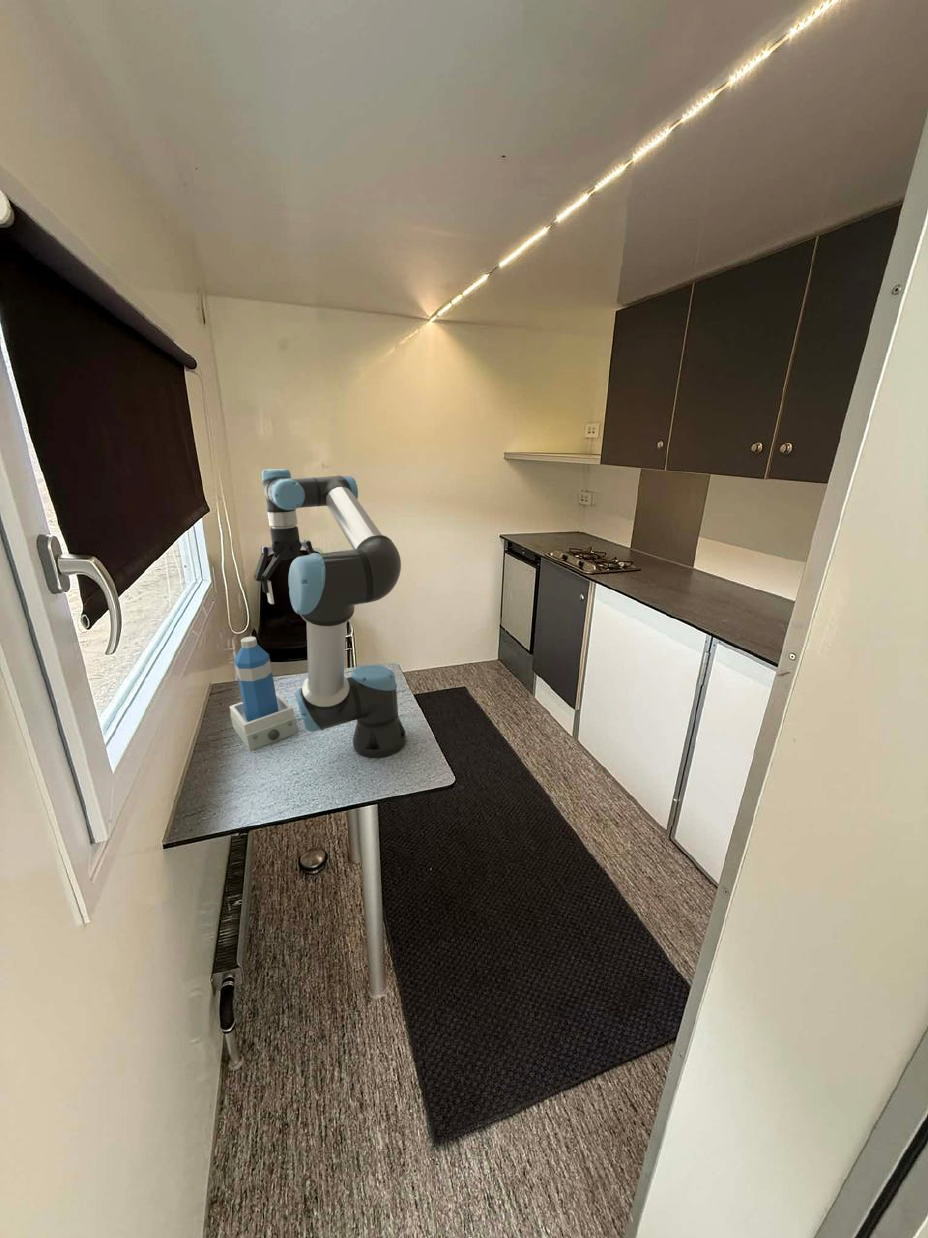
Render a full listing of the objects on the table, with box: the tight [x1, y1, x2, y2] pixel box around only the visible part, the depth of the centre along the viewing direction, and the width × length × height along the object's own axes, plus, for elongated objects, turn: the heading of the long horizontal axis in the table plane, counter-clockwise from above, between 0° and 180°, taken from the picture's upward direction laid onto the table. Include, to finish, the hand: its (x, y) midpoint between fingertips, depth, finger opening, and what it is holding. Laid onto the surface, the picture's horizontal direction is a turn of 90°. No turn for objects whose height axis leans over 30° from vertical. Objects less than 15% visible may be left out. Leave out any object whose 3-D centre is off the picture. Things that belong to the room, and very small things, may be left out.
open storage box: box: [229, 690, 299, 752], centre depth 144 cm, size 17×14×8 cm
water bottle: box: [233, 636, 279, 722], centre depth 139 cm, size 9×9×25 cm
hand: (294, 598), depth 142 cm, fingers open, 13 cm apart
